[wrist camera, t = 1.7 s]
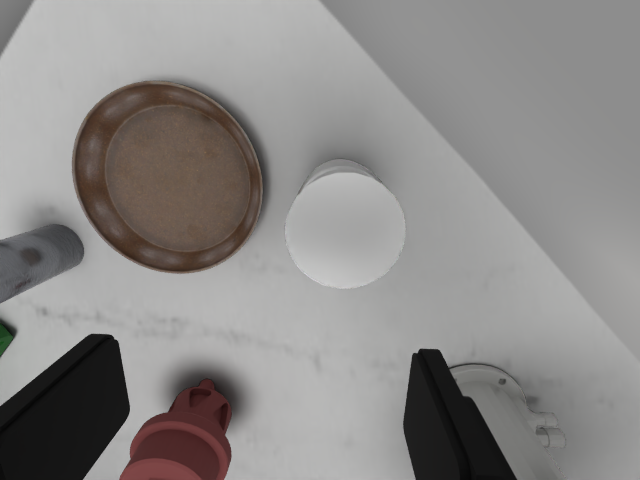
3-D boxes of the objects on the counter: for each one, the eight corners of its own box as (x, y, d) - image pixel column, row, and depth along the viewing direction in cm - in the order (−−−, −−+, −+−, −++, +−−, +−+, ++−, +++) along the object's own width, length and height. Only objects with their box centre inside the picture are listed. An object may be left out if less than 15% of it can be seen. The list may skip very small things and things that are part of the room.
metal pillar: (78, 224, 34) (-19, 257, 25) (88, 268, 36) (-1, 315, 26) (32, 224, 35) (-82, 256, 25) (44, 268, 36) (-60, 314, 27)
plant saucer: (202, 47, 29) (188, 37, 26) (300, 215, 34) (297, 222, 31) (57, 145, 32) (30, 146, 29) (164, 289, 37) (149, 302, 34)
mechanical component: (169, 426, 42) (166, 362, 39) (245, 435, 42) (249, 371, 39) (105, 538, 30) (95, 457, 27) (212, 550, 30) (213, 470, 27)
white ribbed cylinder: (388, 185, 32) (434, 222, 18) (344, 238, 34) (353, 311, 20) (333, 141, 31) (335, 142, 17) (291, 198, 33) (259, 243, 19)
